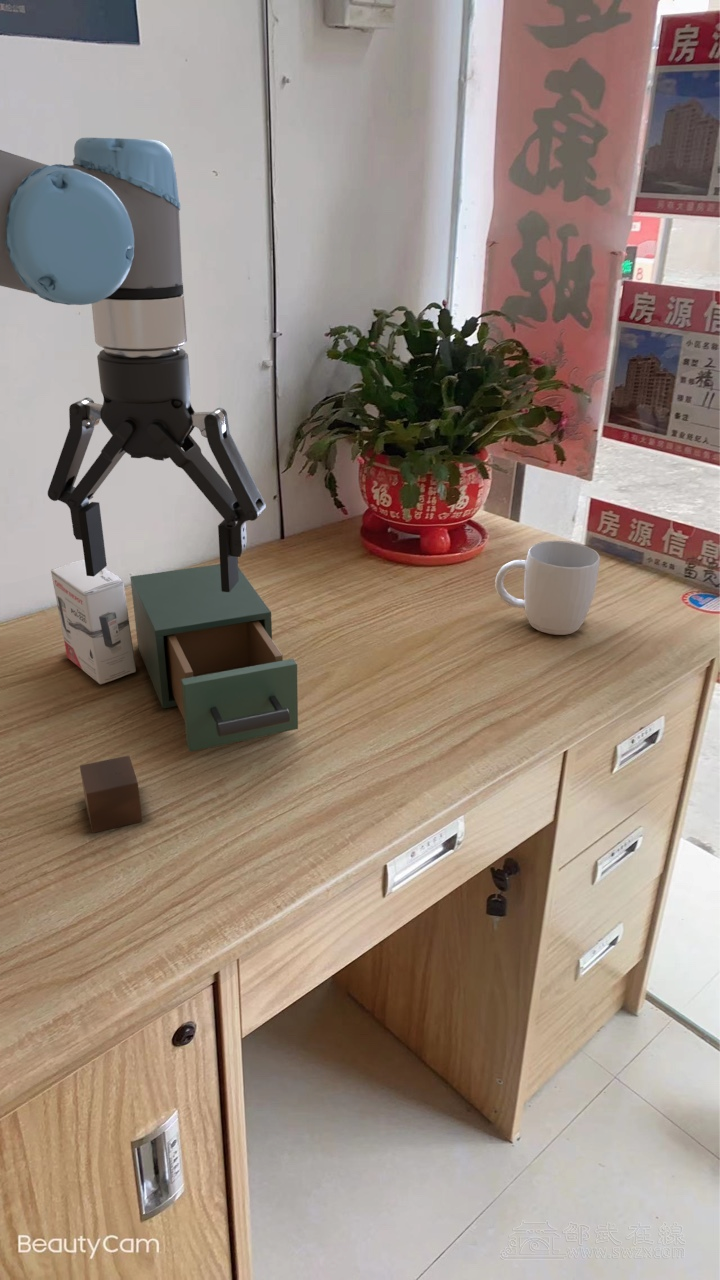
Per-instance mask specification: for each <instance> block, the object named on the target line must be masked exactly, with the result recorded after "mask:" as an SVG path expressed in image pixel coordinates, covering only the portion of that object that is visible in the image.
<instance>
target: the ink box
mask: <svg viewBox="0 0 720 1280" xmlns="http://www.w3.org/2000/svg"><path fill="white" fill-rule="evenodd" d="M50 573H51V578H52V585H53V590H54V595H55V601H56V603H57V610H58V616H59V620H60V621H59V622H60V626H61V632H62V638H63V641H64V642H63V643H64V647H65V652H66V658H67V659H69V660H70V661H71V662H72V663H73V664H74V665H76V666H77V667H78V668H79V669H81V670H82V671H83V672H84V673H85V674H86V675H88V676H90V678H92V679H93V680H94V681H95V682H96V683H98V684H99V685H104V684H106V683H110V682H112V681H115V680H118V679H120V678H122V677H125V676H127V675H131V674H133V673H136V672H137V668H136V659H135V652H134V646H133V639H132V633H131V632H132V631H131V626H130V618H129V611H128V604H127V597H126V589H125V583H124V582H123V580H122V578H121V577H119V576H118V575H117V574H115V573H113V572H112V571H110V570H109V569H108V568H106V567H105V568H103V569H102V570H101V571H100V572H99V573H98V574H96V575H95V576H94V577H93V576H87V574H86V567H85V559H84V558H82V559H79V560H76V561H73V562H69V563H66V564H64V565H62V566H58V567H56V568H51V570H50Z"/></svg>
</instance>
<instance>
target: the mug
mask: <svg viewBox="0 0 720 1280" xmlns="http://www.w3.org/2000/svg"><path fill="white" fill-rule="evenodd" d="M526 555H527V556H526V559H515V560H511V561H509V562H506V563H505V564H504V565H502V566H501V567H500V569H499V570H498V572H496V576H495V582H494V586H495V590H496V593H497V595H498V597H499V599H500V600H501V601H503V602H504V603H505V604H506V605H508V606H510V607H513V608H516V609H524V610H525V614H526V619H527V621H528V624H529V625H530V626H531V627H532V628H533V629H535V630H536V631H538V632H542V633H545V634H549V635H555V636H565V635H570V634H574V633H575V632H576V631H578V630H579V629H580V628H581V626H582V625H583V624H584V622H585V620H586V617H587V615H588V613H589V611H590V609H591V605H592V601H593V599H594V596H595V592H596V586H597V584H598V583H597V582H598V577H599V570H600V561H601V557H600V554H599V553H598V552H597V551H596V550H595V549H593V548H591V547H589V546H587V545H584V544H581V543H577V542H573V541H566V540H545V541H544V540H543V541H540V542H537V543H534V544H532V546H531V547H530V548H529V549H528V552H527V554H526ZM513 570H524V581H523V583H524V584H523V592H524V593H523V598H524V599H522V598H517V597H515V596H513V595H511V594H510V593H509V592H508V591H507V590H506V589H505V586H504V580H505V577H506V575H508V574H509V573H510V572H511V571H513Z"/></svg>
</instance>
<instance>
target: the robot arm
mask: <svg viewBox="0 0 720 1280" xmlns="http://www.w3.org/2000/svg"><path fill="white" fill-rule="evenodd" d="M73 153H74V157H73V159H72V165H70V164H69V165H66V164H61V163H59V164H57V163H56V164H51V165H49V164H45V163H41V162H39V161H36V160H33V159H30V158H27V157H24V156H21V155H18V154H14V153H11V152H8V151H5V150H2V149H0V287H4V288H9V289H13V290H17V291H22V292H24V293H29V294H33V295H37V296H38V297H39V298H41V299H43V300H45V301H48V302H50V303H55V304H62V305H67V306H85V305H91V313H92V321H93V334H94V342H95V344H96V345H97V346H99V347H101V348H102V349H101V350H100V351H99V353H98V354H97V356H96V359H97V368H98V376H99V377H98V378H99V385H100V392H101V394H102V396H103V403H102V404H101V403H96V402H95V401H94V400H93V399H92V398H91V397H84V398H82V399H79V400H77V401H76V402H73V403H72V404H70V405H69V409H68V412H69V413H68V415H69V416H68V417H69V427H68V431H67V434H66V438H65V440H64V443H63V446H62V449H61V452H60V455H59V458H58V459H57V463H56V466H55V469H54V472H53V474H52V478H51V481H50V483H49V486H48V490H47V497H48V498H49V499H50V500H51V501H53V502H56V501H59V502H61V503H63V504H66V506H67V507H68V508H69V511H70V512H69V513H70V518H71V524H72V525H71V526H72V533H73V534H72V535H73V536H74V539H75V540H77V541H81V543H82V550H83V559H85V567H86V574H87V576H93V577H94V576H95V575H96V574H98V573H99V572H100V571H101V570H102V569H103V568H106V567H107V555H106V548H105V539H104V532H103V523H102V522H103V521H102V515H101V514H102V513H101V507H100V502H99V501H97V502H96V501H91V502H89V501H90V500H92V499H93V498H94V495H95V494H96V492H97V491H98V489H99V488H100V487H101V486H102V484H103V483H104V482H105V480H106V479H107V478H108V476H110V473H111V472H112V471H113V469H114V468H115V467H116V466H117V464H118V463H119V461H120V460H121V459H122V458H123V456H124V455H125V454H127V455H129V456H130V459H131V458H132V459H143V458H149V459H152V460H154V461H162V462H163V461H165V460H167V459H170V460H171V461H172V463H173V464H174V465H175V466H176V467H178V468H179V469H182V470H183V472H185V474H186V475H187V476H188V478H190V480H191V481H192V482H193V483H194V484H195V486H196V487H197V488H198V489H199V491H200V492H201V493H202V494H203V495H204V497H205V498H206V499H207V500H208V501H209V503H210V504H211V505H212V506H213V508H214V509H215V510H216V511H217V513H218V514H219V515H220V516H221V517H222V518H223V520H222V521H221V522H220V523H219V524H218V525H217V532H218V550H219V564H220V571H221V589H222V592H230V591H231V590H232V588H233V587H234V586H235V585H236V584H237V582H238V581H239V575H238V567H239V558H241V557H242V556H243V555H244V554H245V552H246V550H247V547H248V543H247V542H248V541H247V539H248V538H247V522H249V521H250V522H252V521H256V520H257V519H258V518H259V517H260V516H261V515H262V513H264V511H265V510H266V508H267V505H266V502H265V500H264V498H263V496H262V494H261V492H260V490H259V488H258V485H256V482H255V480H254V478H253V477H252V474H251V472H250V471H249V468H248V466H247V465H246V462H245V461H244V459H243V456H242V454H241V452H240V451H239V448H238V446H237V445H236V443H235V440H234V438H233V437H232V435H231V430H230V425H229V424H230V423H229V418H228V413H227V410H225V409H224V408H223V407H218V408H215V409H214V410H212V411H198V412H197V411H195V410H194V408H193V406H192V402H191V377H190V365H189V354H188V353H187V352H186V350H185V349H183V348H181V347H182V346H184V345H185V344H186V343H187V341H188V338H187V337H188V336H187V322H186V307H185V294H184V283H183V267H182V266H183V265H182V246H181V244H182V243H181V222H180V211H181V203H180V200H179V190H178V182H177V181H178V180H177V173H176V168H175V162H174V157H173V154H172V151H171V150H170V148H169V147H168V146H167V145H166V144H165V143H164V142H162V141H159V140H156V139H147V138H146V139H145V138H120V137H119V138H117V137H116V138H113V137H81V138H78V140H76V141H75V143H74V146H73ZM100 421H101V422H102V423H103V425H104V426H105V428H106V429H107V430H108V431H109V433H110V434H111V437H110V439H109V440H108V441H107V442H106V444H105V445H104V446H103V447H102V449H101V450H100V454H99V455H98V456H97V457H96V459H95V460H94V462H93V463H92V464H91V466H90V467H89V468H88V470H87V471H86V473H85V474H84V475H83V477H82V478H81V479H80V481H79V482H78V483H77V485H76V486H74V485H75V483H76V480H77V479H78V478H77V477H78V475H79V472H80V469H81V466H82V464H83V461H84V458H85V455H86V452H87V450H88V448H89V444H90V442H91V440H92V439H91V438H92V436H93V433H94V430H95V427H96V426H98V425H99V424H100ZM195 428H197V429H198V430H199V432H200V435H201V436H202V437H204V438H206V440H207V444H208V446H209V448H210V450H211V453H212V455H213V457H214V459H215V460H216V462H217V464H218V466H219V468H220V470H221V473H222V474H223V476H224V478H225V480H226V481H225V480H224V479H223V477H222V476H221V475H220V474H219V473H218V471H217V470H216V469H215V468H214V467H213V465H212V464H211V463H210V461H209V460H208V459H207V458H206V457H205V456H204V454H203V453H202V449H201V447H200V446H199V444H198V443H197V441H196V440H195V439H194V438H193V436H192V435H191V433H192V432H193V430H194V429H195Z"/></svg>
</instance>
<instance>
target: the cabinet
mask: <svg viewBox="0 0 720 1280" xmlns="http://www.w3.org/2000/svg"><path fill="white" fill-rule="evenodd" d="M238 575H239V581H238V582H237V584H236V585H235V586H234V587H233V588H232V590H231V591H230V592H222V589H221V571H220V563H217V564H210V565H203V566H196V567H190V568H189V567H188V568H181V569H173V570H167V571H159V572H153V573H146V574H139V575H131V576H130V577H129V578H130V587H131V588H130V589H131V596H132V605H133V613H134V623H135V631H136V641H137V649H138V651H139V654H140V656H141V658H142V661H143V664H144V666H145V668H146V670H147V673H148V676H149V678H150V680H151V683H152V685H153V688H154V691H155V693H156V696H157V698H158V700H159V703H160V705H161V708H162V709H168V708H169V709H170V708H174V707H178V705H177V703H176V701H175V698H174V696H173V694H172V691H171V689H170V687H169V685H168V681H167V670H166V660H165V650H164V639H163V636H166V635H172V634H178V633H184V632H190V631H196V630H202V629H208V628H215V627H221V626H227V625H233V624H239V623H245V622H251V621H257V620H258V621H259V622H260V623H261V625H262V626H263V628H264V629H265V631H266V632H267V634H268V635H269V637H270V638H271V639H272V640H273V626H272V625H273V624H272V611H271V610H270V608H269V607H268V606H267V604H266V603H265V601H264V600H263V599H262V597H261V596H260V595H259V593H258V592H257V590H256V589H255V588H254V586H253V585H252V584H251V582H250V580H249V579H248V578H247V576H245V574H244V573H243V571H242V570H241V569H240V567H239V566H238Z"/></svg>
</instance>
